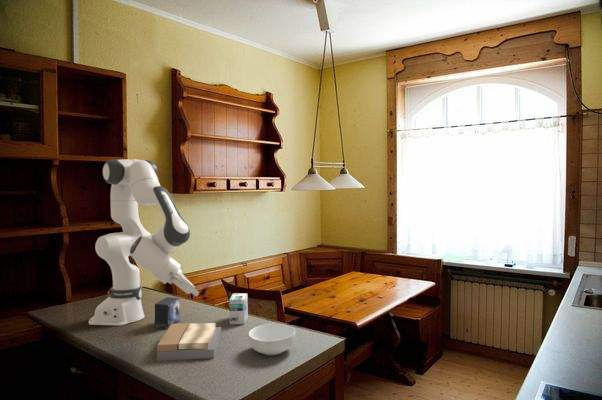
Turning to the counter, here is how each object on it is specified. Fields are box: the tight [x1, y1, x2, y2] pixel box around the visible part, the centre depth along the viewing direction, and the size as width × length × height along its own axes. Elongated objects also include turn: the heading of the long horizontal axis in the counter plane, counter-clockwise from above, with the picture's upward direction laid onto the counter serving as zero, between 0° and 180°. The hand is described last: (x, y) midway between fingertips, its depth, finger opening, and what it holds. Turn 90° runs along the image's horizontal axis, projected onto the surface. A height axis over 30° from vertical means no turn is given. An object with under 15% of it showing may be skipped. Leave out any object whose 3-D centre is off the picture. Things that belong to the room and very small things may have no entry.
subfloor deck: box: [156, 322, 222, 362], centre depth 147 cm, size 19×22×5 cm
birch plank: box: [179, 322, 217, 349], centre depth 147 cm, size 10×20×2 cm, turn 5°
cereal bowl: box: [248, 323, 297, 356], centre depth 143 cm, size 17×17×7 cm
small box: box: [154, 296, 181, 330], centre depth 171 cm, size 11×6×10 cm, turn 169°
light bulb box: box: [228, 292, 249, 325], centre depth 175 cm, size 11×7×11 cm, turn 0°
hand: (197, 294), depth 151 cm, fingers closed
